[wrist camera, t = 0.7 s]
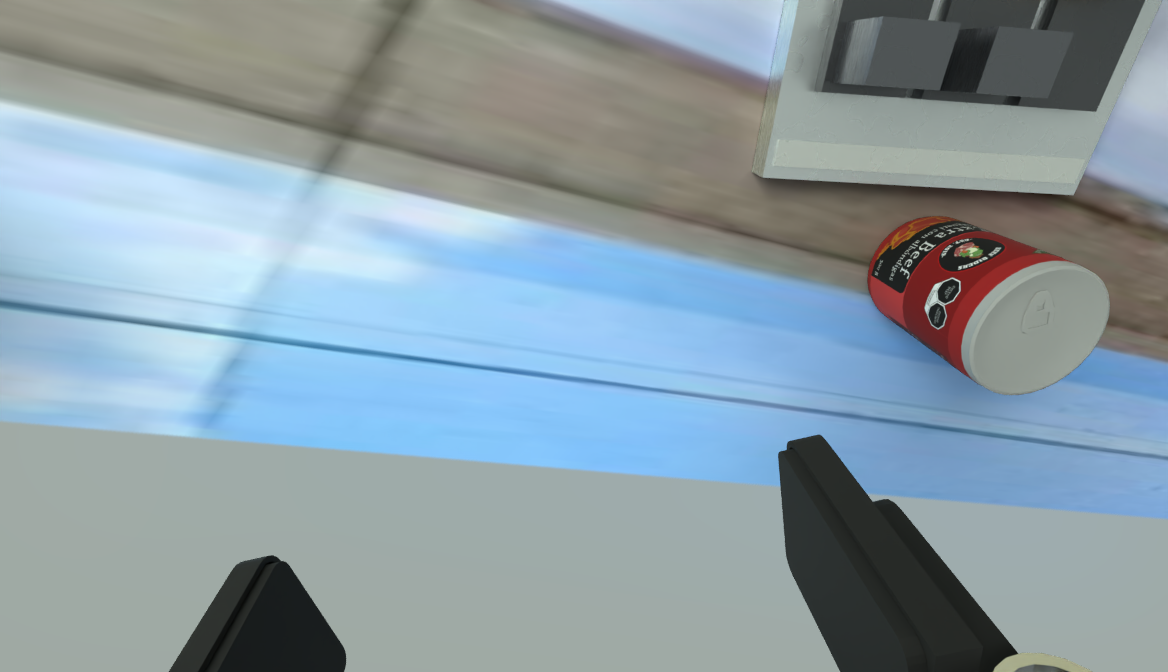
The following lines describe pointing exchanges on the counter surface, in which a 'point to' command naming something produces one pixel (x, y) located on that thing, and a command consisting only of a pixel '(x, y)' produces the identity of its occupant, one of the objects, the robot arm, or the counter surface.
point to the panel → (917, 115)
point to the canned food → (989, 303)
